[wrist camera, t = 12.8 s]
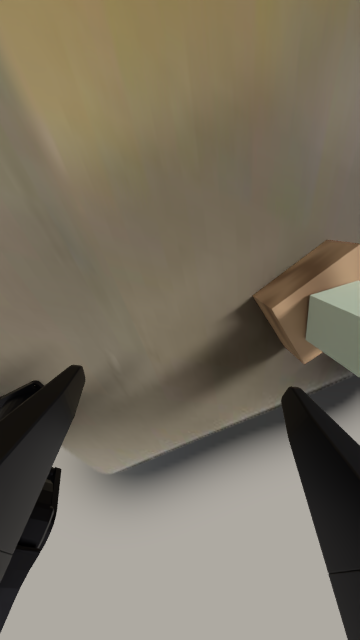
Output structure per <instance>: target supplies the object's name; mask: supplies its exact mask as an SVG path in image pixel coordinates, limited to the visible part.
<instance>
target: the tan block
mask: <svg viewBox="0 0 360 640" xmlns="http://www.w3.org/2000/svg"><path fill="white" fill-rule="evenodd" d="M355 281H360V244H358V243H350V242H341V241H333V240H326V241H325V242H323V243H322V244H321V245H319V246H318V247H317V248H315V249H314V250H313V251H311V252H310V253H309V254H307V255H306V256H305V257H303V258H302V259H301V260H299V261H298V262H297V263H295V264H294V265H293V266H291V267H290V268H289V269H287V270H286V271H285V272H283V273H282V274H281V275H279V276H278V277H277V278H275V279H274V280H273V281H271V282H270V283H269V284H267V285H266V286H265V287H264V288H262V289H261V290H260V291H258V292H257V293H256V294H254V295H253V297H254V299H255V300H256V302H257V304H258V305H259V307H260V308H261V310H262V312H263V313H264V315H265V316H266V318H267V320H268V321H269V323H270V324H271V326H272V328H273V329H274V331H275V332H276V334H277V336H278V337H279V339H280V340H281V342H282V344H283V345H284V347H285V348H286V349H288V350H289V351H290V352H291V353H292V354H293V355H294V356H295V357H297V358H298V359H299V360H300V361H301V362H302V363H303V364H306V363H307V362H309V361H310V360H312V359H313V358H315V357H316V356H318V355H319V354H321V353H322V351H321V350H319V349H318V348H316V347H315V346H314V345H312V344H311V343H309V342H308V341H306V330H307V320H308V310H309V300H310V295H312V294H316V293H319V292H322V291H325V290H329V289H332V288H335V287H338V286H342V285H345V284H348V283H351V282H355Z"/></svg>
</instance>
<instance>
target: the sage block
mask: <svg viewBox="0 0 360 640" xmlns="http://www.w3.org/2000/svg"><path fill="white" fill-rule="evenodd" d="M306 341H308V342H309V343H311V344H312V345H314V346H315V347H316V348H318V349H319V350H321V351H322V352H324V353H325V354H326V355H328V356H329V357H331V358H332V359H334V360H335V361H336V362H338V363H339V364H341V365H342V366H344V367H345V368H346V369H348V370H349V371H351V372H352V373H354V374H355V375H356V376H358V377H359V378H360V281H355V282H351V283H348V284H345V285H342V286H338V287H335V288H332V289H329V290H325V291H322V292H319V293H316V294H312V295H310V300H309V310H308V320H307V330H306Z"/></svg>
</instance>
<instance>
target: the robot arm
mask: <svg viewBox="0 0 360 640" xmlns="http://www.w3.org/2000/svg"><path fill="white" fill-rule="evenodd" d="M84 384H85V374H84V370H83V367H82V366H80V365H71V366H69V367H68V368H67V369H66V370H64V371H63V372H62V373H60V374H59V375H58V376H57V377H55V378H54V379H53V380H51V381H50V382H49V383H48V384H46V385H45V386H44V385H43V384H42V383H40V382H39V381H32V382H30V383H28V384H26V385H24V386H23V387H21V388H19V389H17V390H15V391H13V392H11V393H9V394H7V395H5V396H3V397H1V398H0V632H1V630H2V628H3V626H4V623H5V621H6V619H7V616H8V614H9V611H10V609H11V607H12V604H13V602H14V600H15V598H16V596H17V593H18V591H19V589H20V587H21V585H22V583H23V581H24V579H25V578H26V576H27V574H28V572H29V570H30V568H31V567H32V565H33V563H34V562H35V560H36V558H37V557H38V555H39V553H40V551H41V550H42V548H43V546H44V545H45V543H46V541H47V539H48V537H49V534H50V532H51V529H52V527H53V524H54V520H55V517H56V512H57V504H58V494H59V485H60V476H61V469H60V468H56V467H55V468H53V467H52V465H53V463H54V460H55V458H56V456H57V454H58V452H59V449H60V447H61V445H62V443H63V440H64V438H65V436H66V434H67V431H68V429H69V427H70V425H71V422H72V420H73V418H74V416H75V412H76V409H77V406H78V402H79V399H80V396H81V393H82V390H83V387H84ZM34 385H36V386H34ZM281 403H282V408H283V413H284V418H285V423H286V429H287V434H288V438H289V442H290V445H291V449H292V452H293V455H294V459H295V462H296V466H297V469H298V472H299V476H300V479H301V482H302V486H303V489H304V492H305V496H306V499H307V502H308V506H309V509H310V513H311V516H312V520H313V523H314V526H315V530H316V533H317V536H318V540H319V543H320V547H321V550H322V553H323V557H324V560H325V563H326V567H327V570H328V573H329V577H330V581H331V584H332V588H333V591H334V594H335V598H336V601H337V605H338V608H339V611H340V615H341V618H342V622H343V625H344V628H345V631H346V635H347V638H348V640H360V445H358V444H357V443H356V441H354V440H353V439H352V438H351V437H350V436H349V435H348V434H347V433H346V432H345V431H344V430H343V429H342V428H341V427H340V426H339V425H338V424H337V423H336V422H335V421H334V420H333V419H332V418H331V417H330V416H329V415H328V414H326V412H324V411H323V410H322V409H321V408H320V407H319V406H318V405H317V404H316V403H315V402H314V401H313V400H312V399H311V398H310V397H309V396H308V395H307V394H306V393H305V392H304V391H303V390H302V389H300V388H298V387H289V388H288V389H287V390H286V392H285V393H284V395H283V396H282V399H281Z"/></svg>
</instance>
